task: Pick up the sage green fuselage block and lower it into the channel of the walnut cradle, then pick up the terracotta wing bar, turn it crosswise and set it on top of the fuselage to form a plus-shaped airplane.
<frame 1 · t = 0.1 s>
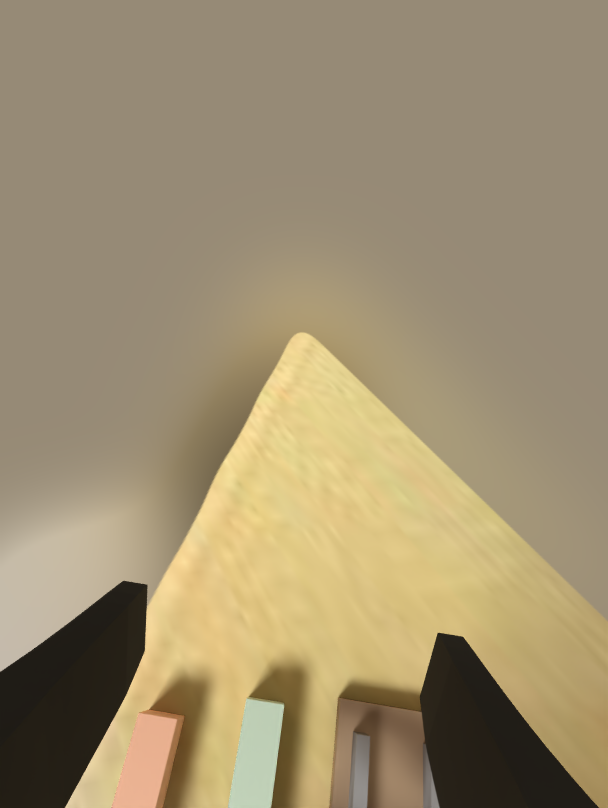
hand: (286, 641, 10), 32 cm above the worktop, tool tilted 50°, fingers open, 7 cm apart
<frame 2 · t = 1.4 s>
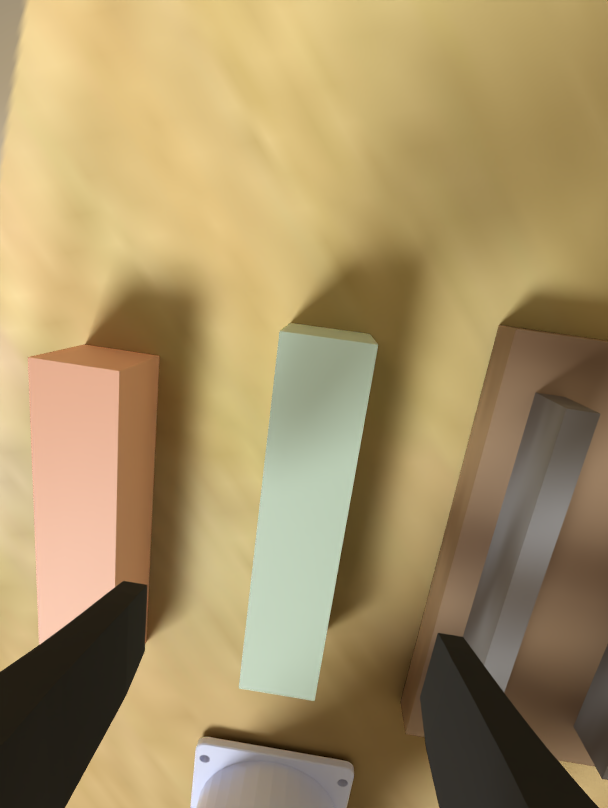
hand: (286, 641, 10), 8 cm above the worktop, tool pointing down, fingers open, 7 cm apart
cradle: (550, 556, 18), on the worktop
fuselage block: (305, 492, 18), on the worktop
wing bar: (121, 504, 19), on the worktop
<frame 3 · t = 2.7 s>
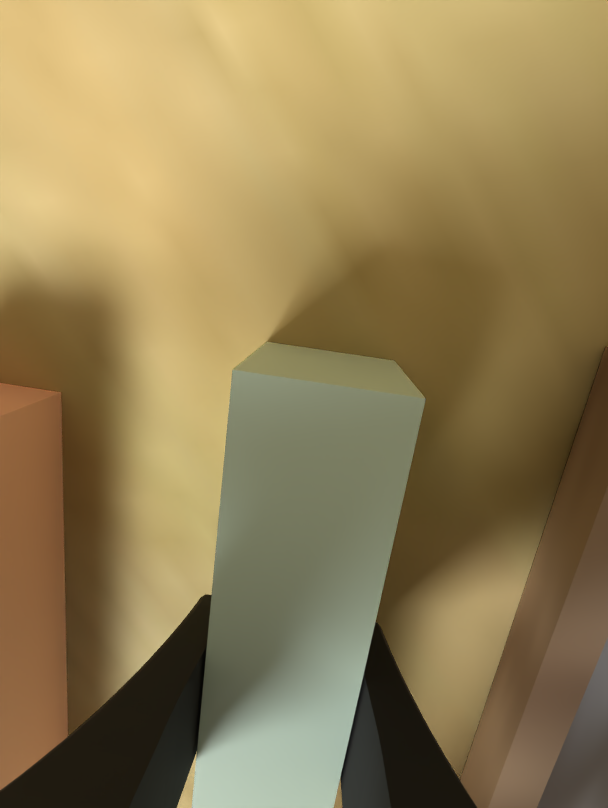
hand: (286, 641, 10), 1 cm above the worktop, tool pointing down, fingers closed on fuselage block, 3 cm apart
fuselage block: (291, 598, 12), on the worktop, touching gripper
wing bar: (22, 604, 13), on the worktop
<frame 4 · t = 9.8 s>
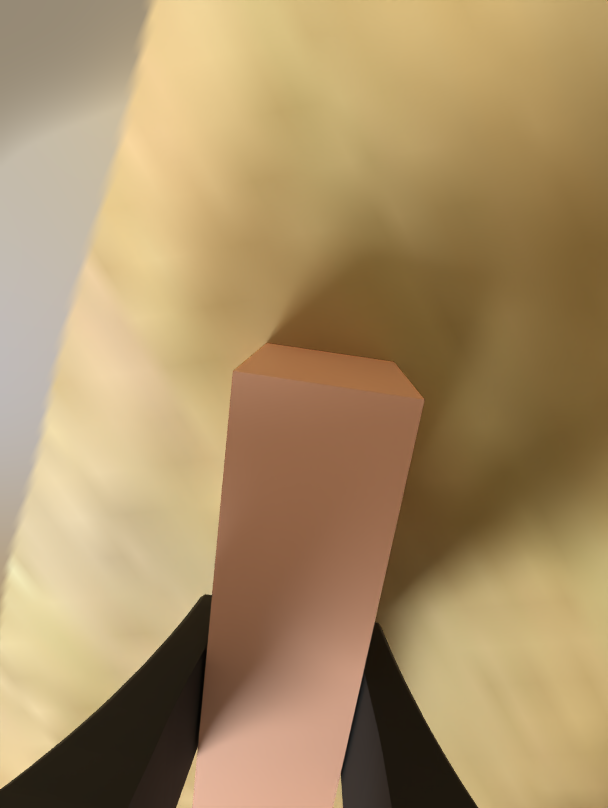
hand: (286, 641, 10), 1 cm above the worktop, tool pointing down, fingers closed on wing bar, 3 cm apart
wing bar: (291, 598, 12), on the worktop, touching gripper
when the fingers open (7 cm above the worktop, at t = 14.2 s): wing bar stays where it is, resting on fuselage block.
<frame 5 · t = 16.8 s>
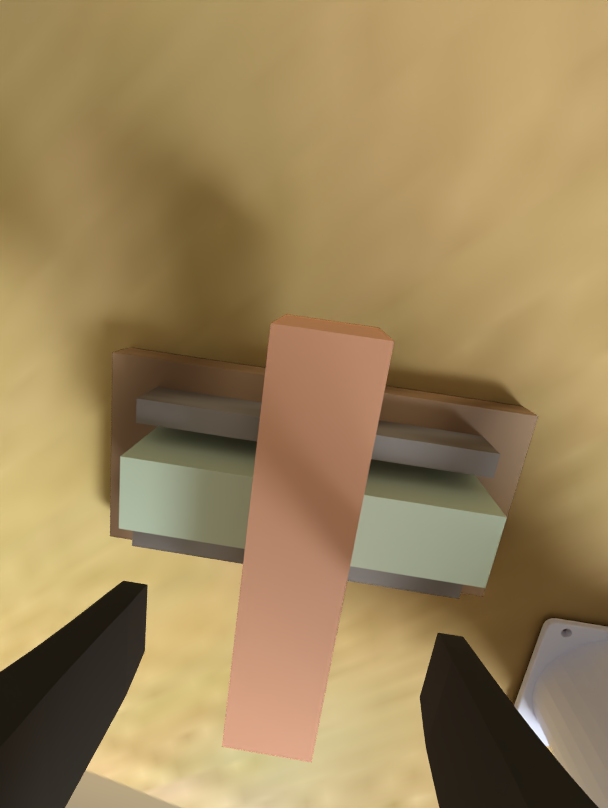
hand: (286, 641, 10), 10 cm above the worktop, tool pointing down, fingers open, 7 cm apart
cradle: (309, 467, 20), on the worktop
fuselage block: (310, 481, 19), point 1 cm above the worktop, touching cradle, wing bar
wing bar: (302, 513, 15), point 5 cm above the worktop, touching fuselage block
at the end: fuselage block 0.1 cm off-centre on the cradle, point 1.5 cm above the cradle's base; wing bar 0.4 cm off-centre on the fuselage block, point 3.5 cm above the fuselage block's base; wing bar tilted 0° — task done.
